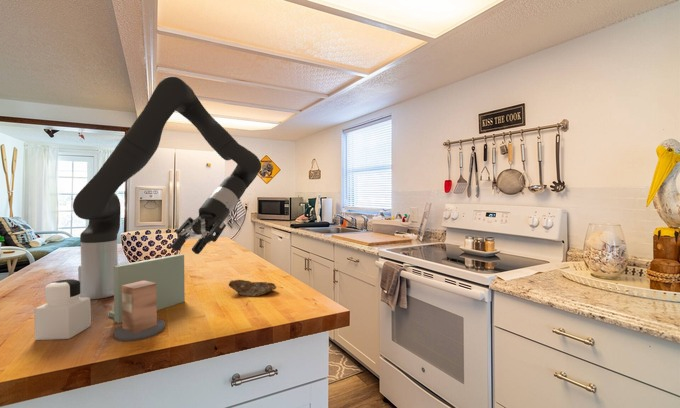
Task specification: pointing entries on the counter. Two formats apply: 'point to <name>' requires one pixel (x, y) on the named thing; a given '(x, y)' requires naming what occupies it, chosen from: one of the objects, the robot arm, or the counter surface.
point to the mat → (130, 336)
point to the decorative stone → (251, 287)
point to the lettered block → (139, 306)
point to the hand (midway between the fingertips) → (184, 250)
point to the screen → (157, 271)
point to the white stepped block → (62, 311)
